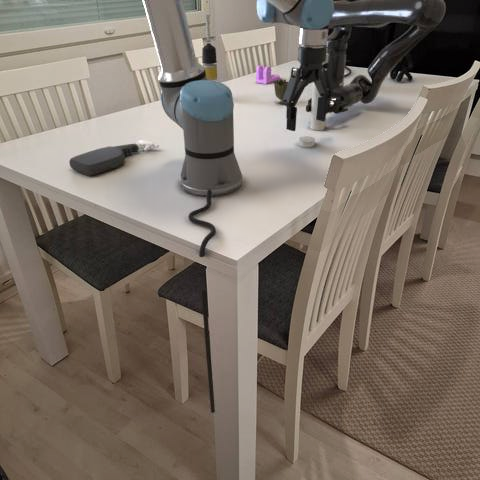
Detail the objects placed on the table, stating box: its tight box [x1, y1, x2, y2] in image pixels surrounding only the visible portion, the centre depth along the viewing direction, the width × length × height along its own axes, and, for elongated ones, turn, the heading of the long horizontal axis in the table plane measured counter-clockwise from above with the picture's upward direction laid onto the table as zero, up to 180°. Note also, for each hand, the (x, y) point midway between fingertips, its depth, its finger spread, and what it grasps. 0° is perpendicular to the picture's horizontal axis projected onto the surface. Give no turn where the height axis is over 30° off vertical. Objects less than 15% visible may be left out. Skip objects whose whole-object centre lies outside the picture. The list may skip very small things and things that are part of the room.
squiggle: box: [389, 52, 414, 83], centre depth 198 cm, size 11×10×15 cm
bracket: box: [255, 65, 281, 85], centre depth 202 cm, size 13×6×7 cm, turn 143°
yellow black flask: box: [201, 14, 218, 82], centre depth 171 cm, size 6×6×30 cm
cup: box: [273, 78, 289, 104], centre depth 169 cm, size 8×7×8 cm
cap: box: [298, 135, 316, 148], centre depth 132 cm, size 4×4×2 cm
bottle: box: [309, 53, 329, 131], centre depth 140 cm, size 5×5×23 cm
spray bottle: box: [68, 139, 160, 177], centre depth 124 cm, size 3×11×24 cm
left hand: (306, 125), depth 129 cm, fingers open, 13 cm apart
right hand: (314, 110), depth 140 cm, fingers closed on bottle, 5 cm apart
